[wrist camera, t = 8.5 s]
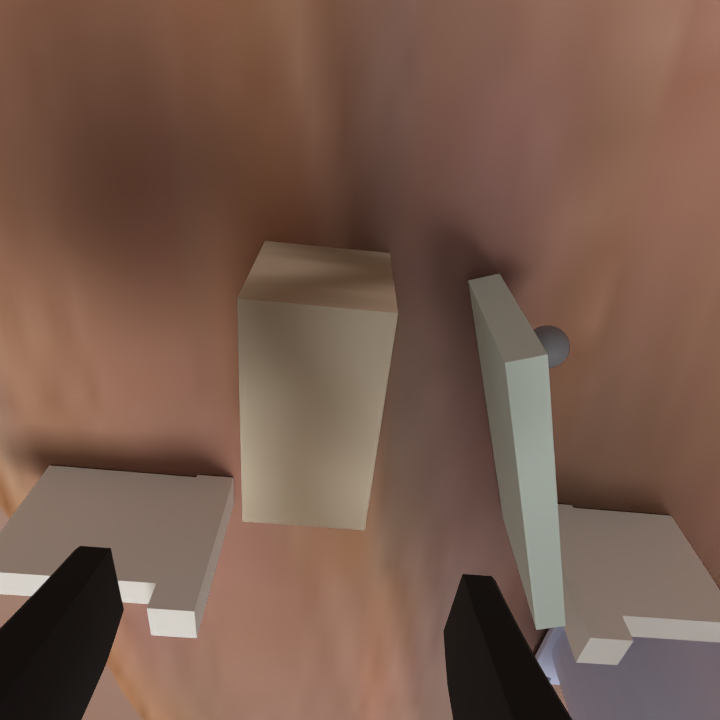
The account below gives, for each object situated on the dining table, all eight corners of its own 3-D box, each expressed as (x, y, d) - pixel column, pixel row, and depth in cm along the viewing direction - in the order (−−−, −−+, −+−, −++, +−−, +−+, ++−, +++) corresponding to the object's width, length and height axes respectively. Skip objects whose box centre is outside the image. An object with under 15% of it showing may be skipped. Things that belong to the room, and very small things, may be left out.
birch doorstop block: (389, 251, 17) (397, 313, 13) (363, 440, 21) (364, 530, 17) (265, 239, 17) (236, 298, 13) (264, 432, 21) (242, 521, 17)
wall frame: (672, 513, 23) (762, 649, 18) (658, 536, 24) (741, 673, 18) (48, 462, 21) (-51, 595, 16) (55, 488, 22) (-37, 623, 17)
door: (554, 508, 22) (601, 621, 18) (502, 517, 22) (536, 630, 18) (537, 264, 16) (600, 343, 12) (467, 280, 17) (504, 362, 12)
